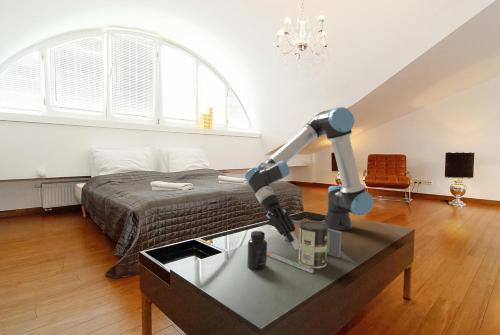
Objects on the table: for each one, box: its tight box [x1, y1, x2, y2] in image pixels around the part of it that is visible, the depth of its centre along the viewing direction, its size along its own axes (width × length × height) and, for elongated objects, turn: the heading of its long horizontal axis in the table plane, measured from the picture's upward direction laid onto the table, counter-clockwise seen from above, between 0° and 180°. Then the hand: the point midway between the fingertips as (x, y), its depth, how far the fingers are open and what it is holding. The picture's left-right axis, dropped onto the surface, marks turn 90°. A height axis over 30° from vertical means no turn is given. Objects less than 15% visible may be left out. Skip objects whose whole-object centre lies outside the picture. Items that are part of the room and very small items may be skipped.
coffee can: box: [297, 221, 329, 269], centre depth 94 cm, size 10×10×14 cm
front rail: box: [267, 251, 315, 274], centre depth 95 cm, size 1×26×1 cm, turn 45°
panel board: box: [284, 219, 342, 259], centre depth 108 cm, size 1×26×10 cm, turn 45°
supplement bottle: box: [246, 230, 268, 271], centre depth 89 cm, size 7×7×12 cm
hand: (298, 248), depth 98 cm, fingers closed
